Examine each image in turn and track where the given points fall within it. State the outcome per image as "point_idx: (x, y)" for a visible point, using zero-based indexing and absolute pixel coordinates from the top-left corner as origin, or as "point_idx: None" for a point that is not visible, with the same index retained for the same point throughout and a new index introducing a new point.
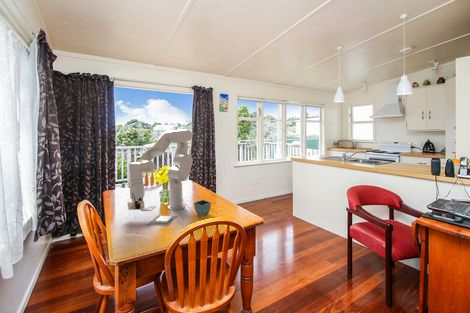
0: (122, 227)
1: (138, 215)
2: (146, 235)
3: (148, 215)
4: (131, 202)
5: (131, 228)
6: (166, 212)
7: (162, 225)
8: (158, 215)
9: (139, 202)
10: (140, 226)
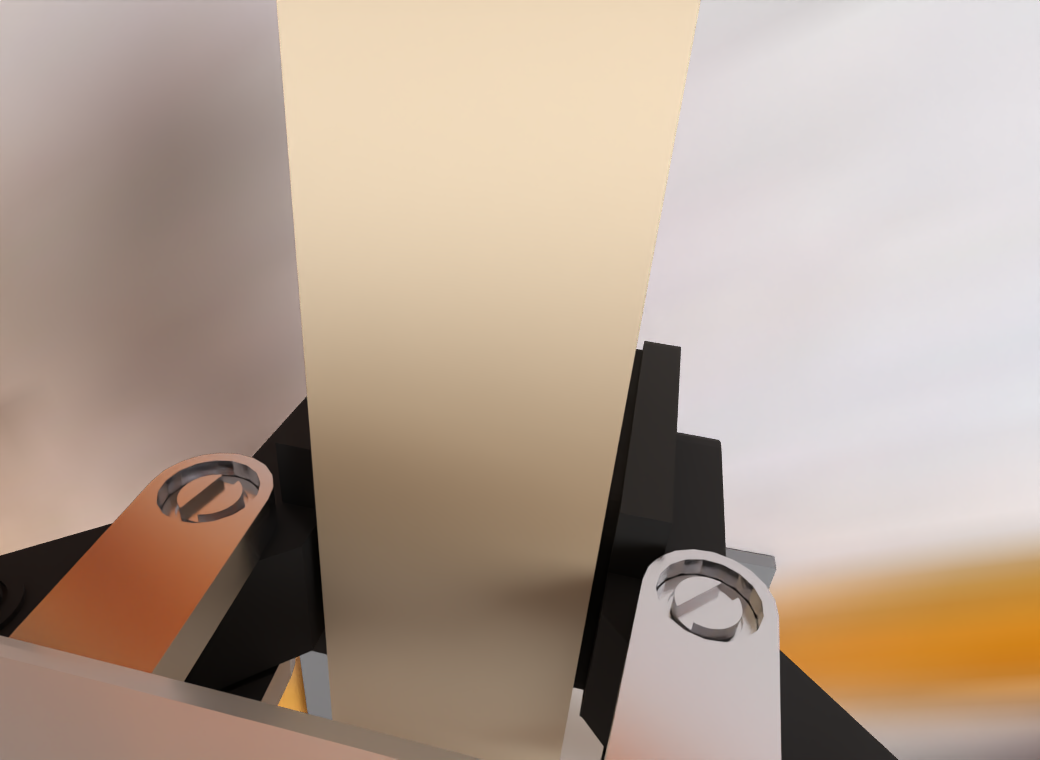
0: (62, 5)
1: (930, 47)
2: (9, 545)
3: (859, 351)
4: (292, 203)
5: (99, 249)
6: (984, 659)
7: (310, 677)
8: (763, 574)
9: (331, 674)
10: (227, 381)
